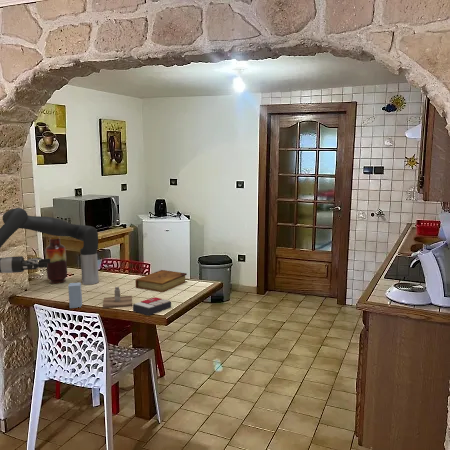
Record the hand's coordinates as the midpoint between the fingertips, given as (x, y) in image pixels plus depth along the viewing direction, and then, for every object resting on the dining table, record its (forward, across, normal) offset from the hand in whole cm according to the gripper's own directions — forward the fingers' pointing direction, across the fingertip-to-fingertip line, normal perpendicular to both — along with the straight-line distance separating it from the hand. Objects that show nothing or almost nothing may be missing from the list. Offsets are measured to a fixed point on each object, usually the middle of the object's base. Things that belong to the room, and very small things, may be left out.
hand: (48, 262), depth 221 cm
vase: (-4, +49, +22) cm, 54 cm away
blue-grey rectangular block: (+11, 0, +22) cm, 25 cm away
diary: (+55, +27, +23) cm, 66 cm away
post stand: (+31, 0, +22) cm, 38 cm away
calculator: (+48, -14, +23) cm, 55 cm away
